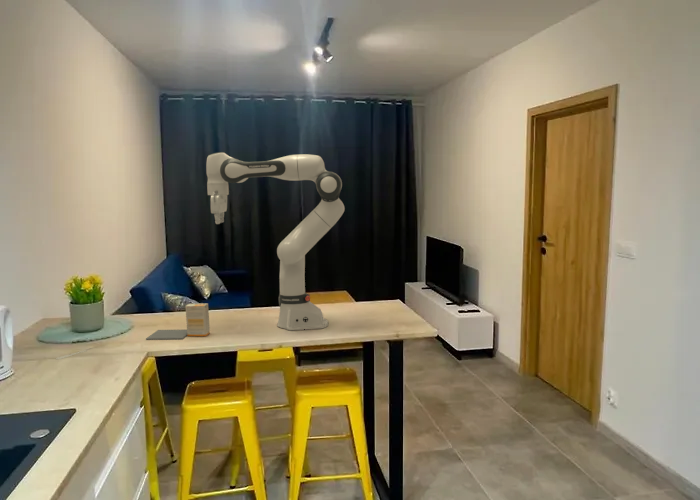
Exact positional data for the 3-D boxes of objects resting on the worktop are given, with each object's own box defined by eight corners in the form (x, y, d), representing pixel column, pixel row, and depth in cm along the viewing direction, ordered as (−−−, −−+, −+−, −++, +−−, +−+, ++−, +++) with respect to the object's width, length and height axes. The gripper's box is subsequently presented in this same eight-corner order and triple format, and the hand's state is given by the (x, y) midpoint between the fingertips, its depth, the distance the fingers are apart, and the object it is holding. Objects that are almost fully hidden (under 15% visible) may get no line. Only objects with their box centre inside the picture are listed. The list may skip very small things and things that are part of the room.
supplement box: (210, 333, 217) (208, 303, 216) (206, 336, 213) (204, 305, 211) (191, 333, 218) (189, 302, 217) (186, 336, 213) (185, 305, 212)
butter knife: (53, 358, 188) (58, 359, 186) (113, 341, 208) (117, 342, 207) (53, 359, 188) (58, 360, 186) (113, 342, 208) (117, 343, 207)
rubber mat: (192, 330, 222) (192, 329, 222) (182, 339, 209) (182, 338, 209) (158, 331, 222) (158, 329, 222) (145, 339, 209) (145, 338, 209)
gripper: (221, 190, 211) (223, 224, 213) (229, 190, 231) (230, 221, 233) (206, 191, 211) (207, 225, 212) (214, 191, 231) (216, 221, 232)
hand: (219, 223), depth 223 cm, fingers open, 8 cm apart
